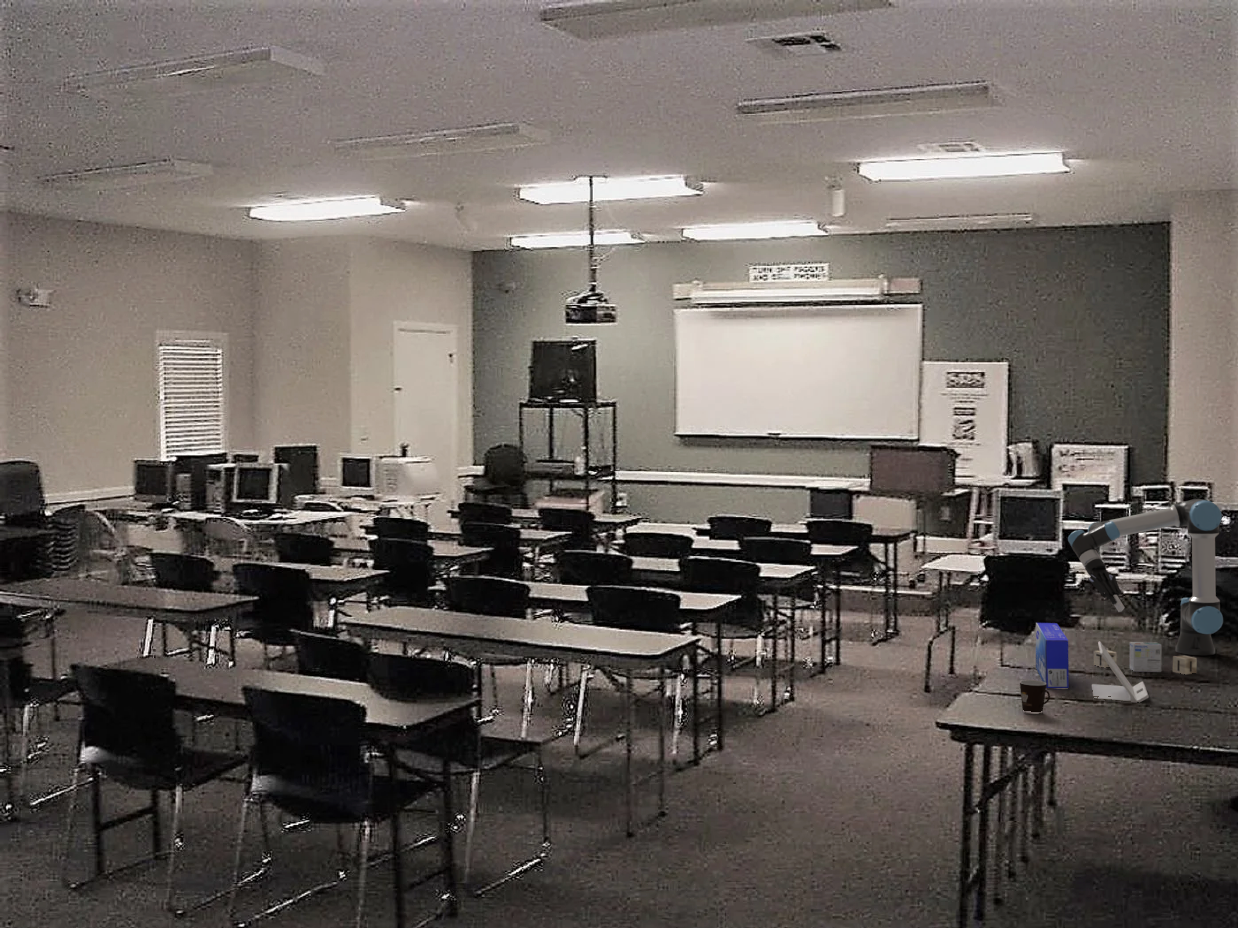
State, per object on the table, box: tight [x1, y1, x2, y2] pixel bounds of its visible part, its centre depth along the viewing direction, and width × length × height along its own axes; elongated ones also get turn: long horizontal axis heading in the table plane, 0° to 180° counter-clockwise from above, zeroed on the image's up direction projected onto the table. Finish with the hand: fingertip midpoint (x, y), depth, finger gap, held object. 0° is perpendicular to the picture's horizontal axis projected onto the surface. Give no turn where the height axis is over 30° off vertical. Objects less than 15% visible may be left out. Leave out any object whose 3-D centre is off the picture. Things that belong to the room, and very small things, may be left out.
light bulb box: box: [1129, 641, 1162, 673], centre depth 524 cm, size 11×7×11 cm, turn 84°
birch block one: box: [1172, 655, 1198, 675], centre depth 520 cm, size 6×6×6 cm
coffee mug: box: [1019, 679, 1051, 712], centre depth 449 cm, size 12×9×10 cm
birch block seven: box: [1093, 649, 1117, 669], centre depth 532 cm, size 6×6×6 cm
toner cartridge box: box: [1035, 622, 1070, 689], centre depth 506 cm, size 39×8×18 cm, turn 168°
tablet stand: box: [1091, 640, 1150, 704], centre depth 480 cm, size 18×25×17 cm
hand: (1121, 609), depth 535 cm, fingers closed
